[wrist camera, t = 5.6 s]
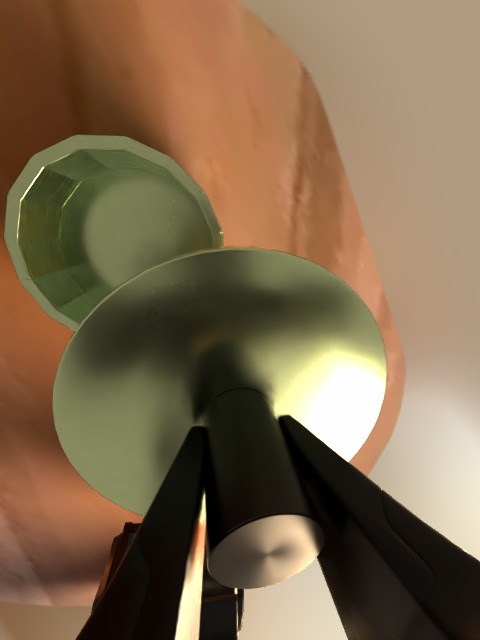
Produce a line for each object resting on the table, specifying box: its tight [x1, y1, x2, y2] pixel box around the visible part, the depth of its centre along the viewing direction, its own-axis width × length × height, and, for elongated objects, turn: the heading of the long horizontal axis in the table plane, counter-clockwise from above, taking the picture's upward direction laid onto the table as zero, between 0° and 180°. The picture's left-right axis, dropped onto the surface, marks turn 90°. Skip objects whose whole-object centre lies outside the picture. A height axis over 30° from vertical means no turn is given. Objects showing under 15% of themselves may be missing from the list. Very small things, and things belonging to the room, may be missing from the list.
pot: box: [4, 134, 224, 332], centre depth 15 cm, size 11×11×4 cm
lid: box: [52, 246, 387, 589], centre depth 7 cm, size 12×12×5 cm
